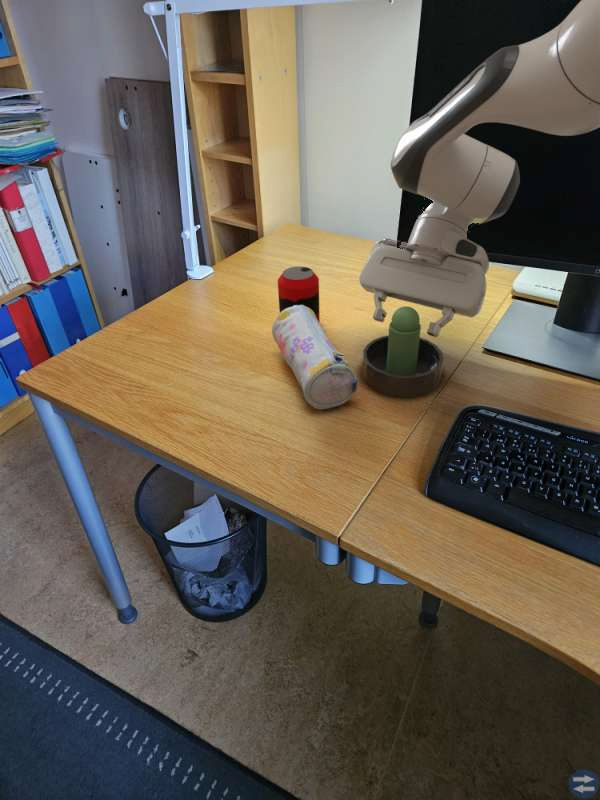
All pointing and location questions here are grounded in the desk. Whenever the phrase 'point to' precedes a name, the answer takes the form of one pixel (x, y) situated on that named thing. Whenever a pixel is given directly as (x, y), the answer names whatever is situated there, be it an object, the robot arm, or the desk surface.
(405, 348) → the green dome-topped cylinder
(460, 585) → the desk surface
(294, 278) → the soda can
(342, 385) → the pencil case
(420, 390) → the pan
